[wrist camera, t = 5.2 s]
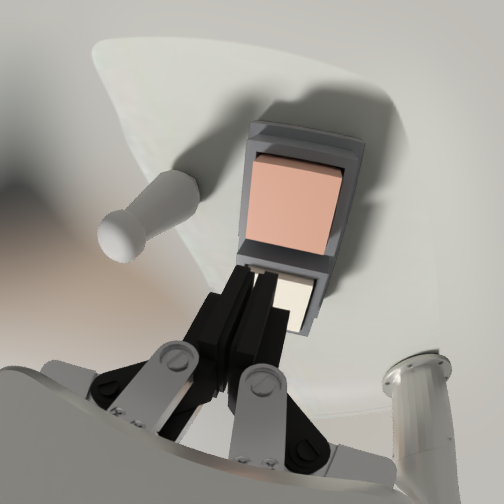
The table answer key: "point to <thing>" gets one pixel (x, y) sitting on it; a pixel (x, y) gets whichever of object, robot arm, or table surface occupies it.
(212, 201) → the table surface
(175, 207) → the salt shaker
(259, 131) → the key panel
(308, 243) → the terracotta key
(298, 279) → the ivory key
